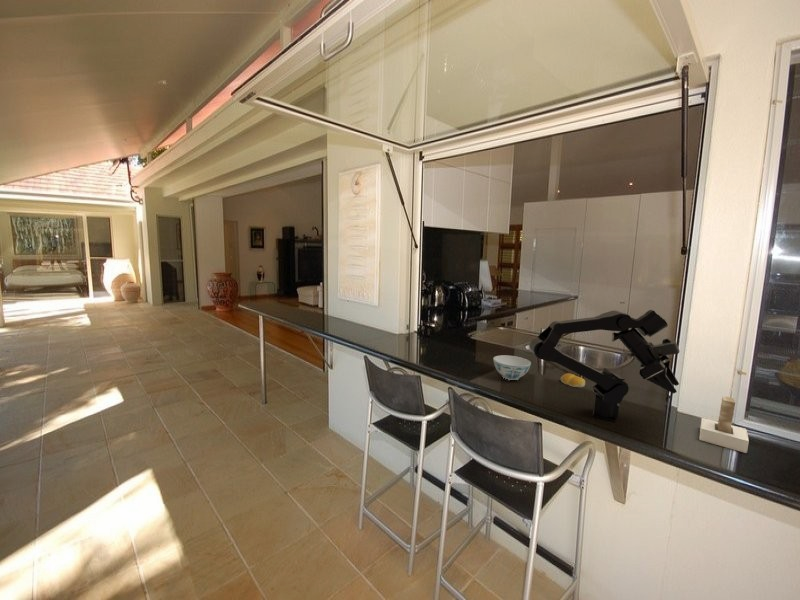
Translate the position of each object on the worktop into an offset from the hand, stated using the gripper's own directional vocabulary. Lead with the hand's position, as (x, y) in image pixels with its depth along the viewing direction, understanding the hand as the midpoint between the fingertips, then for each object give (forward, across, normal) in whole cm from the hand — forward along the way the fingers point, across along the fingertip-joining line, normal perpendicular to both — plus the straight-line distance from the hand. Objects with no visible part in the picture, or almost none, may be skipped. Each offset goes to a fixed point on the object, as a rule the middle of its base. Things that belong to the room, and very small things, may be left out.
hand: (676, 388), depth 106 cm
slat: (+18, +5, +1) cm, 19 cm away
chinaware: (-29, +9, +48) cm, 57 cm away
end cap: (+18, +5, +1) cm, 19 cm away
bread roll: (-14, +23, +34) cm, 43 cm away
